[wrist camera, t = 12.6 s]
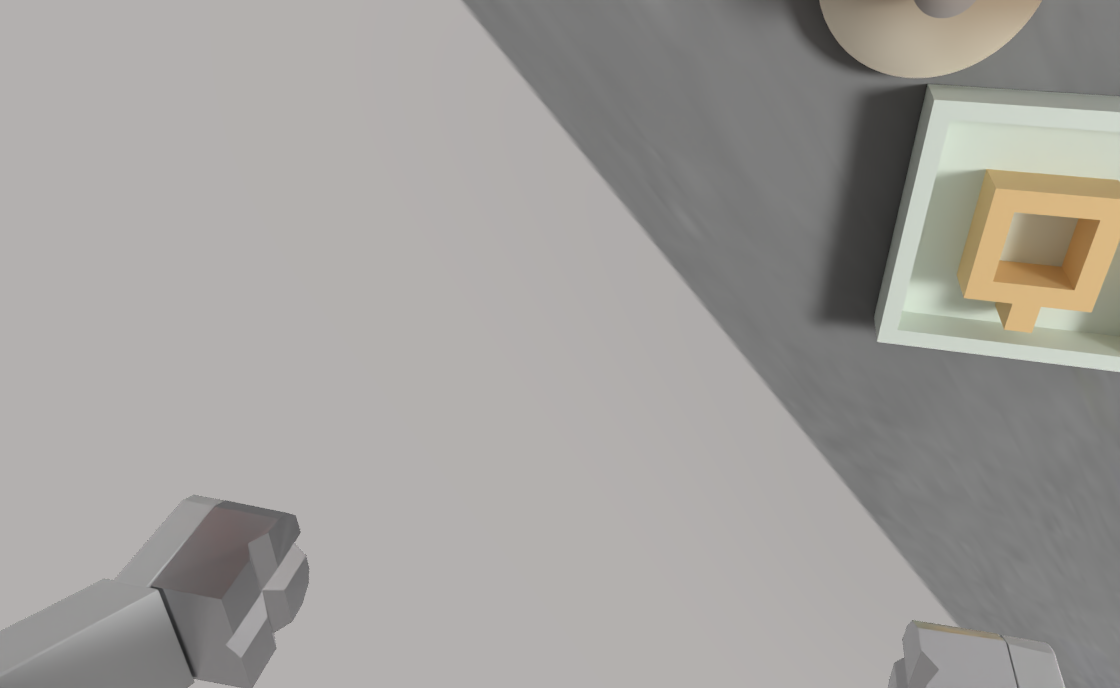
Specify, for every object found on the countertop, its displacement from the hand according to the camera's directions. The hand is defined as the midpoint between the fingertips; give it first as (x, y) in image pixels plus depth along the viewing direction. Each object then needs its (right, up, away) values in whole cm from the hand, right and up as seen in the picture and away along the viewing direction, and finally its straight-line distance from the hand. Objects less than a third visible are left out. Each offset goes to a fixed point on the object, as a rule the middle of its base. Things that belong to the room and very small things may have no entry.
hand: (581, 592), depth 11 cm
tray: (+22, +9, +28) cm, 37 cm away
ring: (+22, +9, +28) cm, 37 cm away
